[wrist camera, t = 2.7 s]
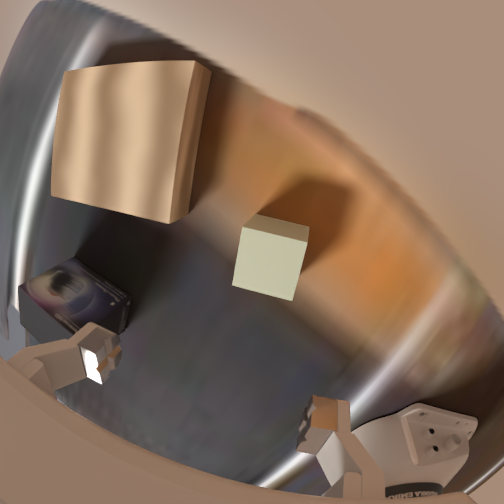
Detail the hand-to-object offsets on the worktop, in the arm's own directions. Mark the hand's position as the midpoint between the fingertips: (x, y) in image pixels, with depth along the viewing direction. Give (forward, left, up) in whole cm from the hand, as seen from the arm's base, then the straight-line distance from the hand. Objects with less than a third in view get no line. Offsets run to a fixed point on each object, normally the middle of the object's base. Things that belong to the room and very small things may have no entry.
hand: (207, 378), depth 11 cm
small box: (+21, +12, -18) cm, 30 cm away
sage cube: (0, 0, -18) cm, 18 cm away
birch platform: (+17, -8, -18) cm, 26 cm away
